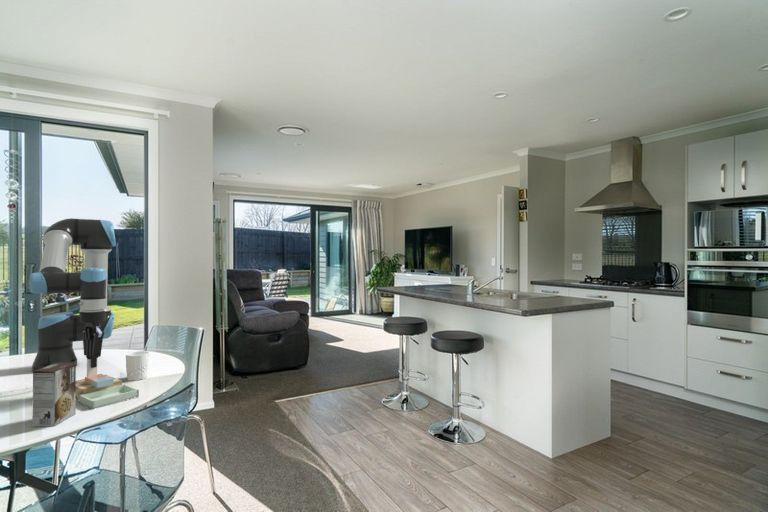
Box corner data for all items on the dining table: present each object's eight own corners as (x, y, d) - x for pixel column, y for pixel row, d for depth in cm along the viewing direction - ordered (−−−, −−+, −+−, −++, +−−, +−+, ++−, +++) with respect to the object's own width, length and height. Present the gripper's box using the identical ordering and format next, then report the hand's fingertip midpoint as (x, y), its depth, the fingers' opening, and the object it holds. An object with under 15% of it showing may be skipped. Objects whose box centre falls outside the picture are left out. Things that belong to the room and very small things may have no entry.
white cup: (137, 382, 156) (137, 356, 156) (120, 380, 158) (120, 355, 158) (152, 376, 164) (153, 351, 164) (136, 374, 166) (136, 350, 166)
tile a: (84, 382, 142) (85, 376, 142) (100, 379, 146) (101, 373, 146) (90, 385, 140) (91, 379, 140) (107, 381, 144) (107, 376, 144)
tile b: (91, 385, 140) (91, 379, 140) (107, 381, 144) (107, 376, 144) (97, 388, 137) (97, 382, 137) (113, 384, 141) (113, 378, 141)
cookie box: (54, 414, 124) (55, 362, 124) (76, 414, 125) (77, 362, 125) (30, 426, 115) (31, 370, 115) (54, 426, 116) (55, 370, 116)
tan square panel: (67, 393, 142) (67, 382, 142) (105, 385, 152) (105, 374, 152) (82, 401, 135) (83, 389, 135) (121, 391, 145) (122, 380, 145)
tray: (79, 402, 134) (79, 395, 134) (124, 391, 146) (125, 384, 146) (92, 409, 129) (92, 401, 129) (138, 396, 140) (138, 389, 140)
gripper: (73, 310, 145) (72, 375, 145) (88, 313, 138) (87, 382, 138) (97, 308, 151) (95, 370, 151) (112, 311, 144) (111, 376, 144)
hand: (91, 376), depth 145 cm, fingers closed
